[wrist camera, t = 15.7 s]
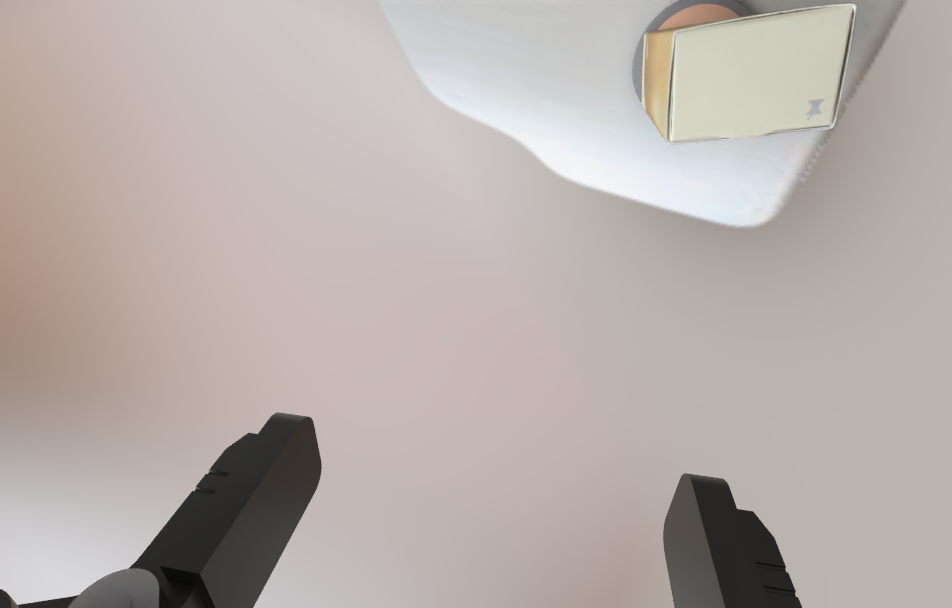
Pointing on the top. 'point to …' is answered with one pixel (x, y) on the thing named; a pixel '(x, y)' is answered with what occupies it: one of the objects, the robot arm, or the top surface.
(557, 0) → the top surface
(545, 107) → the top surface
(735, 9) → the tile
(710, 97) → the skincare box
